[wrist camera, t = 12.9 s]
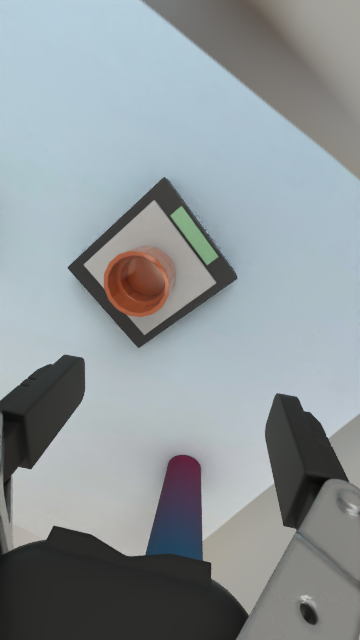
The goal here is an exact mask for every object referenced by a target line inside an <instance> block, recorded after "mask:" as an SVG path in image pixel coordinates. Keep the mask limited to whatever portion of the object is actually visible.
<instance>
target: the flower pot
mask: <svg viewBox="0 0 360 640" xmlns="http://www.w3.org/2000/svg"><path fill="white" fill-rule="evenodd" d="M175 280H176V271H175V268H174V264H173V262H172V260H171V259H170V258H169V257H168V255H167V254H166V253H165V252H163V251H161V250H160V249H158V248H156V247H152V246H145V245H144V246H140V247H137V248H133V249H131V250H128V251H126V252H123V253H121V254H118V255H117V256H116V257H115V258H114V259H113V260H111V261H110V262H109V264H108V266H107V268H106V271H105V273H104V289H105V292H106V294H107V297H108V299H109V301H110V302H111V303H112V304H113V305H114V306H115V307H116V309H118V310H119V311H121V312H123V313H125V314H127V315H129V316H136V317H144V316H148V315H152V314H154V313H155V312H157V311H158V310H159V309H161V308H162V307H163V305H164V303H165V302H166V300H167V298H168V296H169V294H170V293H171V291H172V289H173V287H174V286H175Z"/></svg>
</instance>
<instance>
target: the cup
mask: <svg viewBox="0 0 360 640" xmlns="http://www.w3.org/2000/svg"><path fill="white" fill-rule="evenodd" d="M169 553H172V554H176V555H180V556H184V557H189V558H193V559H197V560H201V561H203V556H202V555H203V552H202V506H201V467H200V464H199V463H198V462H197V460H195V459H194V458H192V457H190V456H186V455H179V456H175V457H174V458H172V459H171V460H170V461H169V463H168V467H167V471H166V475H165V479H164V483H163V487H162V491H161V495H160V499H159V503H158V507H157V511H156V515H155V519H154V523H153V527H152V531H151V535H150V539H149V543H148V547H147V551H146V555H157V554H169Z"/></svg>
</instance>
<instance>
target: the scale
mask: <svg viewBox="0 0 360 640" xmlns="http://www.w3.org/2000/svg"><path fill="white" fill-rule="evenodd" d="M144 245H145V246H152V247H156V248H158V249H160V250H161V251H163V252H165V253H166V254H167V255H168V257H169V258H170V259H171V260H172V262H173V264H174V268H175V271H176V280H175V286H174V287H173V289H172V291H171V293H170V294H169V296H168V298H167V300H166V302H165V303H164V305H163V307H162V308H161V309H159V310H158V311H157V312H155V313H154V314H152V315H148V316H144V317H136V316H129V315H127V314H125V313H123V312H121V311H119V310H118V309H116V307H115V306H114V305H113V304H112V303H111V302H110V301H109V299H108V297H107V294H106V292H105V289H104V273H105V271H106V268H107V266H108V264H109V262H110V261H111V260H113V259H114V258H115V257H116V256H117V255H118V254H121V253H123V252H126V251H128V250H131V249H133V248H137V247H140V246H144ZM68 269H69V270H70V271H71V272H72V273H73V275H74V276H75V277H76V278H77V279H78V280H79V281H80V283H81V284H82V285H83V286H84V287H85V288H86V289H87V290H88V292H89V293H90V294H91V295H92V296H93V297H94V298H95V299H96V301H97V302H98V303H99V304H100V305H101V306H102V307H103V309H104V310H105V311H106V312H107V313H108V314H109V315H110V316H111V318H112V319H113V320H114V321H115V322H116V323H117V324H118V325H119V327H120V328H121V329H122V330H123V331H124V332H125V333H126V335H127V336H128V337H129V338H130V339H131V340H132V341H133V342H134V344H135V345H136V346H137V347H138V348H139V347H141V346H142V345H144V344H145V343H147V342H148V341H149V340H151V339H152V338H154V337H155V336H156V335H158V334H159V333H161V332H162V331H164V330H165V329H166V328H168V327H169V326H171V325H172V324H173V323H175V322H176V321H178V320H179V319H180V318H182V317H183V316H185V315H186V314H188V313H189V312H190V311H192V310H193V309H195V308H196V307H197V306H199V305H200V304H202V303H203V302H205V301H206V300H207V299H209V298H210V297H212V296H213V295H214V294H216V293H217V292H219V291H220V290H222V289H223V288H224V287H226V286H227V285H229V284H230V283H231V282H233V281H234V280H236V279H237V275H236V273H235V272H234V270H233V269H232V267H231V266H230V265H229V263H228V262H227V261H226V259H225V258H224V256H223V255H222V254H221V252H220V251H219V249H218V248H217V247H216V245H215V244H214V242H213V241H212V240H211V238H210V237H209V236H208V234H207V233H206V231H205V230H204V229H203V227H202V226H201V224H200V223H199V222H198V220H197V219H196V218H195V216H194V215H193V213H192V212H191V211H190V209H189V208H188V206H187V205H186V204H185V202H184V201H183V199H182V198H181V197H180V195H179V194H178V193H177V191H176V190H175V188H174V187H173V186H172V184H171V183H170V181H169V180H168V179H166V178H165V177H164V178H163V179H162V180H160V181H159V182H158V183H157V184H156V185H155V186H154V187H153V188H152V189H151V190H150V191H149V192H148V193H147V194H146V195H144V196H143V197H142V198H141V199H140V200H139V201H138V202H137V203H136V204H135V205H134V206H133V207H132V208H131V209H130V210H128V211H127V212H126V213H125V214H124V215H123V216H122V217H121V218H120V219H119V220H118V221H117V222H116V223H115V224H113V225H112V226H111V227H110V228H109V229H108V230H107V231H106V232H105V233H104V234H103V235H102V236H101V237H100V238H99V239H97V240H96V241H95V242H94V243H93V244H92V245H91V246H90V247H89V248H88V249H87V250H86V251H85V252H84V253H82V254H81V255H80V256H79V257H78V258H77V259H76V260H75V261H74V262H73V263H72V264H71V265H70V266H69V267H68Z"/></svg>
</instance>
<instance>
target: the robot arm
mask: <svg viewBox="0 0 360 640" xmlns="http://www.w3.org/2000/svg"><path fill="white" fill-rule="evenodd" d="M84 392H85V362H84V359H83V358H81V357H75V356H70V355H63V356H62V357H61V358H60V359H59V360H58V361H56V362H55V363H54V364H53V365H52V364H49V365H46V366H44V367H42V368H40V369H38V370H36V371H35V372H34V373H33V374H31V375H30V376H29V377H28V379H25V380H24V381H23V382H22V383H21V384H20V386H19V385H18V386H17V387H16V388H15V389H14V390H12V391H11V392H10V393H9V394H8V395H6V396H5V397H4V398H3V399H2V400H1V401H0V640H358V639H359V634H360V489H359V488H358V487H356V486H354V485H353V484H351V483H350V482H349V480H348V478H347V476H346V474H345V472H344V470H343V468H342V466H341V464H340V462H339V460H338V458H337V456H336V454H335V452H334V450H333V448H332V447H331V444H330V442H329V440H328V438H327V437H326V433H325V431H324V429H323V427H322V425H321V423H320V422H319V421H318V420H317V419H316V418H315V417H314V416H313V415H312V414H311V413H310V412H305V411H303V408H302V406H301V404H300V401H299V399H298V398H297V397H295V396H289V395H284V394H278V393H277V394H276V395H275V397H274V400H273V404H272V407H271V410H270V413H269V417H268V420H267V423H266V429H265V439H266V444H267V449H268V454H269V458H270V463H271V468H272V473H273V478H274V482H275V487H276V492H277V496H278V501H279V506H280V511H281V515H282V520H283V525H284V526H286V527H291V528H295V529H296V530H297V531H296V533H295V535H294V536H293V538H292V540H291V541H290V543H289V545H288V547H287V549H286V550H285V552H284V554H283V556H282V558H281V559H280V561H279V563H278V565H277V567H276V569H275V570H274V572H273V574H272V576H271V577H270V579H269V581H268V583H267V585H266V586H265V588H264V590H263V592H262V594H261V596H260V597H259V599H258V601H257V603H256V605H255V606H254V608H253V610H252V612H251V613H250V615H248V614H247V612H246V611H245V610H244V608H243V607H242V606H241V604H240V603H239V602H238V601H237V599H235V597H234V596H232V594H230V592H228V590H226V589H225V588H224V587H222V586H221V585H220V584H219V583H217V582H216V581H214V580H212V579H211V563H210V562H205V561H201V560H197V559H193V558H189V557H184V556H180V555H176V554H172V553H169V554H157V555H144V556H125V555H123V554H122V553H120V552H118V551H117V550H115V549H114V548H112V547H110V546H109V545H107V544H106V543H104V542H102V541H101V540H99V539H98V538H96V537H94V536H93V535H91V534H87V533H82V532H78V531H74V530H70V529H66V528H61V527H57V526H53V528H52V530H51V532H50V534H49V536H48V538H47V540H42V541H37V542H32V543H29V544H26V545H23V546H20V547H17V548H15V549H14V547H13V530H12V529H13V528H12V527H13V526H12V525H13V479H12V474H13V473H14V471H15V470H16V469H17V468H18V467H22V468H27V469H32V467H33V466H34V465H35V463H36V462H37V461H38V459H39V458H40V457H41V455H42V454H43V453H44V451H45V450H46V449H47V447H48V446H49V445H50V443H51V442H52V441H53V439H54V438H55V437H56V435H57V434H58V432H59V431H60V430H61V428H62V427H63V426H64V424H65V423H66V422H67V420H68V419H69V418H70V416H71V415H72V414H73V412H74V411H75V410H76V408H77V407H78V406H79V404H80V403H81V401H82V399H83V396H84Z"/></svg>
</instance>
